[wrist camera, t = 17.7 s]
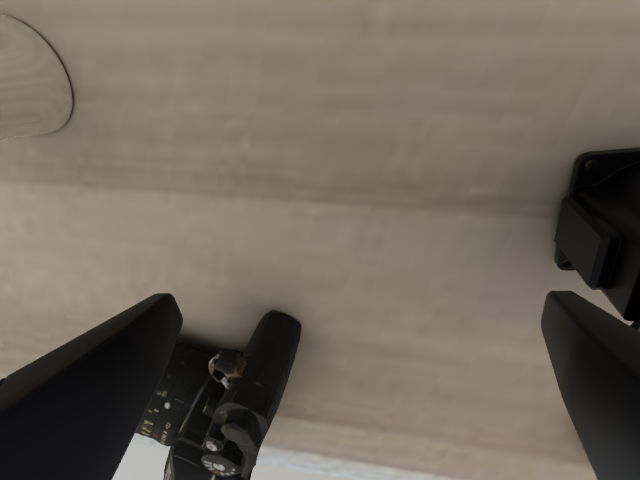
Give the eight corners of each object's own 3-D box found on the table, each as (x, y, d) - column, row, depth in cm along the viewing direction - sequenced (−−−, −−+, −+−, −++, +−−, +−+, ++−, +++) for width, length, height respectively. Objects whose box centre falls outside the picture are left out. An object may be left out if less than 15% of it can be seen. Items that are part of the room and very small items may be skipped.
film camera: (137, 270, 26) (15, 387, 18) (302, 295, 25) (256, 436, 16) (177, 415, 35) (109, 537, 27) (299, 440, 34) (268, 577, 25)
